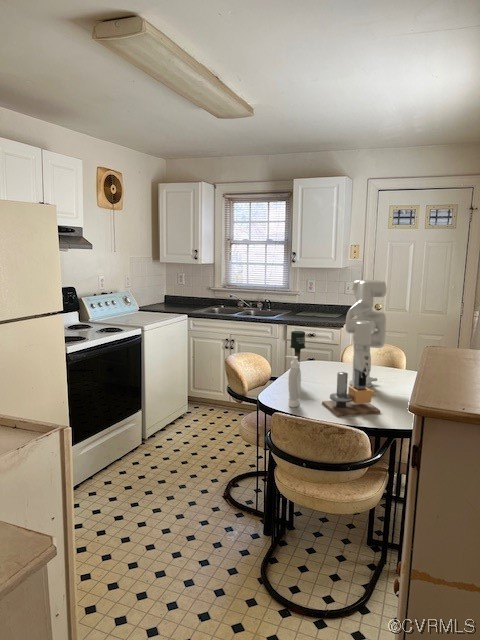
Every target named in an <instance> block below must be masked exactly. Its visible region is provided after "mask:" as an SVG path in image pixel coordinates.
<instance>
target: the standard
mask: <svg viewBox="0 0 480 640" xmlns="http://www.w3.org/2000/svg"><path fill="white" fill-rule="evenodd" d="M336 374H337V375H336V376H337V377H336V380H337V381H336V392H332V393H331V394H330V395H329V399H330V401H336V407H338V408H346V402H351V401H353V396H352V395H350V394H348V379H349V377H348V376H349V373H348V372H345V371H339V372H337V373H336Z"/></svg>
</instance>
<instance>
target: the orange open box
mask: <svg viewBox="0 0 480 640" xmlns="http://www.w3.org/2000/svg"><path fill="white" fill-rule="evenodd" d="M347 394H350V395H352V396H353V402H354V403H371V402H372V397H376V391H375V390H374V389H373V390H372V389H370V388H369V387H366V390H356V389H354V386H352V385H350V386H348V388H347Z"/></svg>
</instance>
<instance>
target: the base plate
mask: <svg viewBox="0 0 480 640" xmlns="http://www.w3.org/2000/svg"><path fill="white" fill-rule="evenodd" d="M321 404H322V405H323V406H324V407H325V408H326V409H327V410H328V411H330V412H331V413H332V414H334V415H335V416H336V417H338V418H339V417H351V416H352V417H353V416H363V415H364V416H365V415H366V416H367V415H378V414H381V410H380V408H378V407H376V406H375V405H373V404H372V403H371V402H368V403H354V402H353V401H351V402H346V408H338V407H336V401H333V400H322V401H321Z"/></svg>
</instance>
